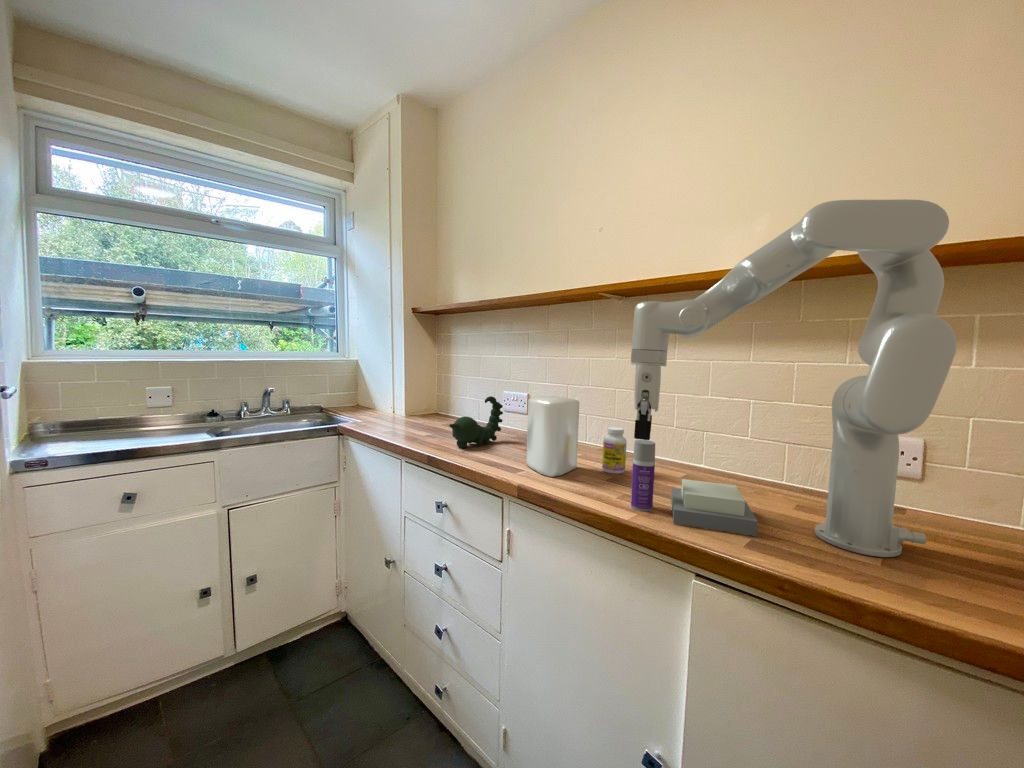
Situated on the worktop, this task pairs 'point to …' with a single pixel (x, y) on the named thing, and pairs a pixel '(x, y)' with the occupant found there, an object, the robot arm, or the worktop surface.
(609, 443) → the supplement bottle
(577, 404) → the white rounded canister
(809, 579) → the worktop surface
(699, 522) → the tower base
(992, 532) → the worktop surface
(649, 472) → the container
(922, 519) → the worktop surface
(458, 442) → the toy figurine
